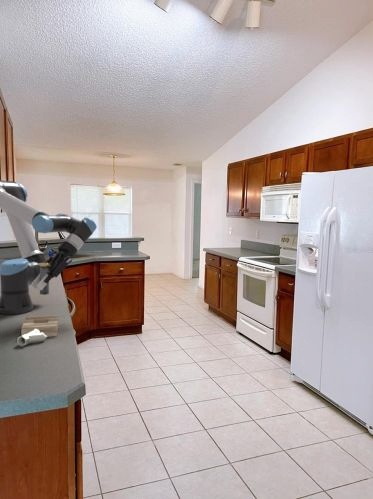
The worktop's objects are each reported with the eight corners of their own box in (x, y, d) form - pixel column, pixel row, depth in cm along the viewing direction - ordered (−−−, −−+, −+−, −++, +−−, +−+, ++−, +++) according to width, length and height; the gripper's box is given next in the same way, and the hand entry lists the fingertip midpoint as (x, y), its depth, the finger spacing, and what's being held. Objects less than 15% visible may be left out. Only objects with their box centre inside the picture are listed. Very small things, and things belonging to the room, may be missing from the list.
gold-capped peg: (39, 292, 149) (39, 262, 148) (50, 292, 151) (50, 262, 149) (38, 295, 145) (38, 264, 144) (49, 294, 146) (49, 264, 145)
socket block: (26, 326, 139) (26, 316, 138) (58, 324, 142) (58, 315, 142) (21, 338, 125) (21, 327, 125) (57, 335, 129) (56, 325, 129)
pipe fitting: (48, 341, 125) (31, 338, 126) (49, 330, 125) (32, 327, 126) (34, 349, 117) (16, 346, 118) (35, 338, 117) (17, 334, 118)
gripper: (87, 253, 153) (53, 296, 142) (65, 250, 163) (31, 289, 152) (77, 242, 149) (40, 285, 137) (55, 239, 159) (19, 279, 147)
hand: (36, 287), depth 145 cm, fingers closed on gold-capped peg, 3 cm apart
